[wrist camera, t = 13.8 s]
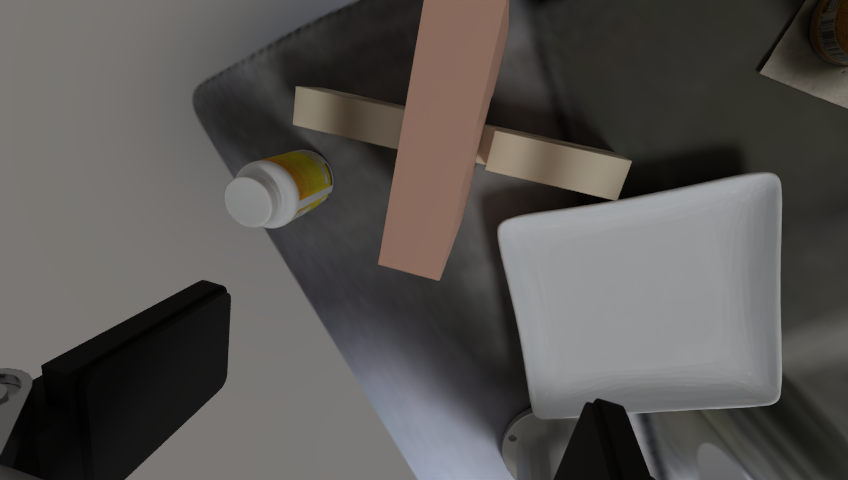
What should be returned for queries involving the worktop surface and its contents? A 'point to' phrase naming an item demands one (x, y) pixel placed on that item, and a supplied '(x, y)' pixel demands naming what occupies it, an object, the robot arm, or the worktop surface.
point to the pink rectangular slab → (442, 130)
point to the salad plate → (651, 299)
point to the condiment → (815, 52)
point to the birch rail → (496, 150)
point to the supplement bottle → (278, 189)
